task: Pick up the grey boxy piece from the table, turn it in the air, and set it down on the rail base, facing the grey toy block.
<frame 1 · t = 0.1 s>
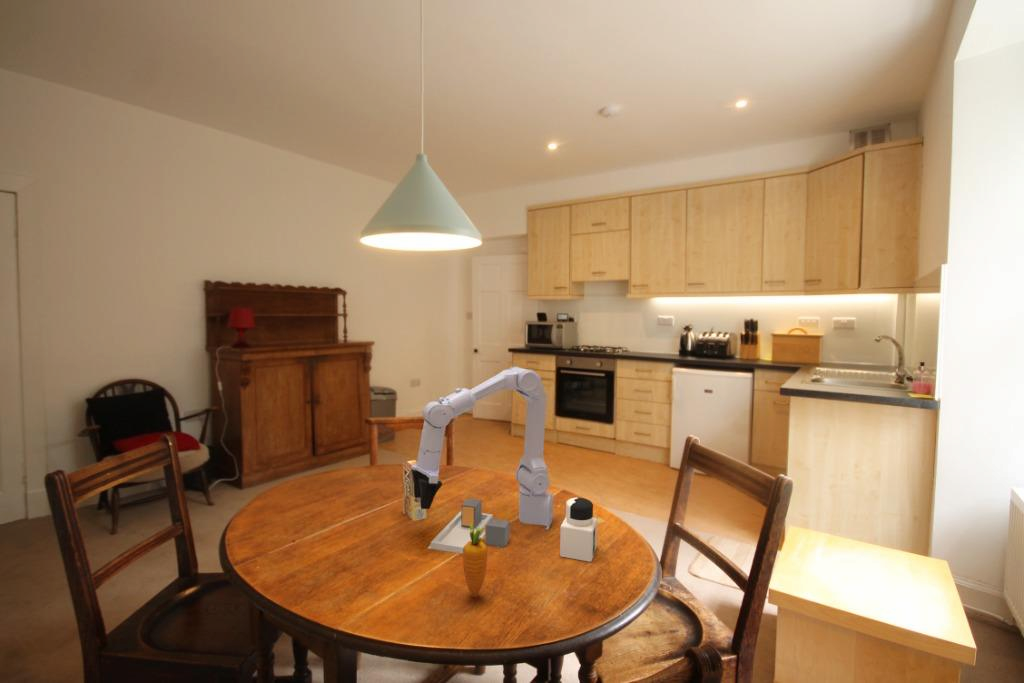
hand: (421, 502, 118), 11 cm above the table, tool pointing down, fingers open, 7 cm apart
grey toy block: (471, 523, 128), resting on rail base
candy box: (414, 518, 134), on the table
container: (578, 553, 115), on the table
grey boxy piece: (497, 546, 118), on the table
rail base: (463, 536, 122), on the table
carrot: (474, 598, 96), on the table
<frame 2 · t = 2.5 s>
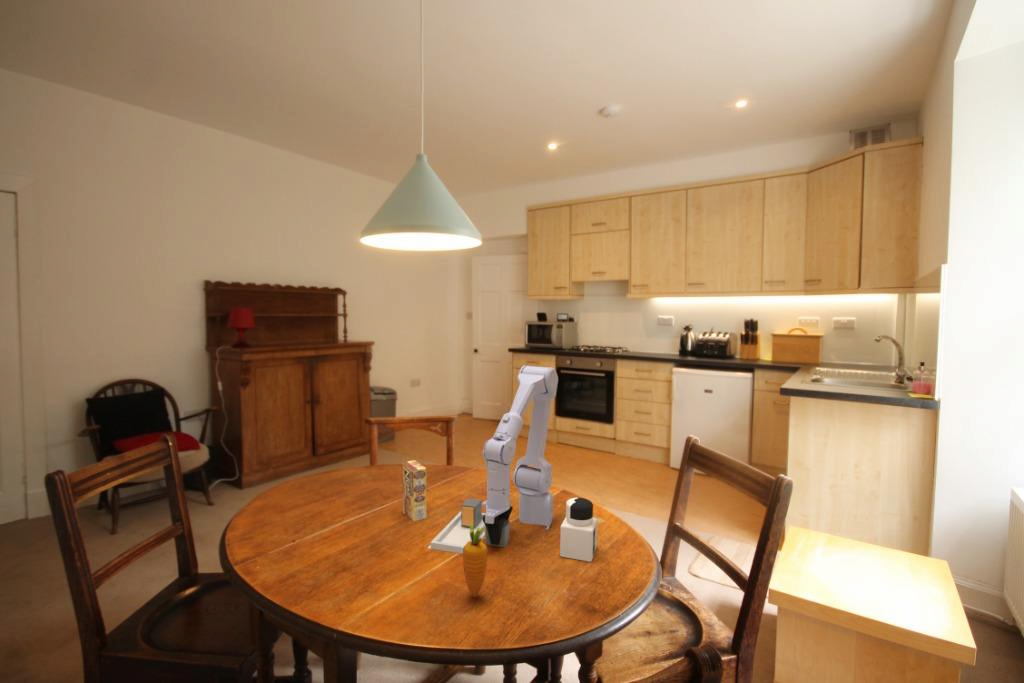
hand: (497, 539, 117), 2 cm above the table, tool pointing down, fingers closed on grey boxy piece, 4 cm apart
grey boxy piece: (497, 546, 118), on the table, touching gripper
everything else where it was.
when the fingers open (4 cm above the table, at t = 6.7 s): grey boxy piece stays where it is, resting on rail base.
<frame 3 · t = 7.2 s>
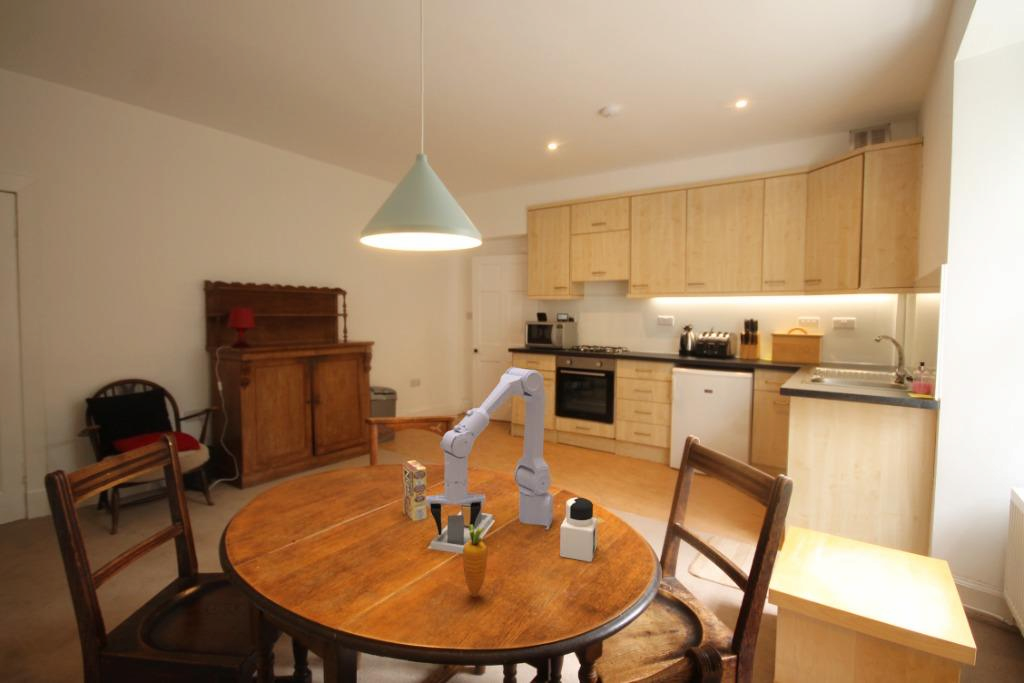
hand: (455, 532, 117), 4 cm above the table, tool pointing down, fingers open, 7 cm apart
grey boxy piece: (455, 542, 117), point 1 cm above the table, touching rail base
everything else where it was.
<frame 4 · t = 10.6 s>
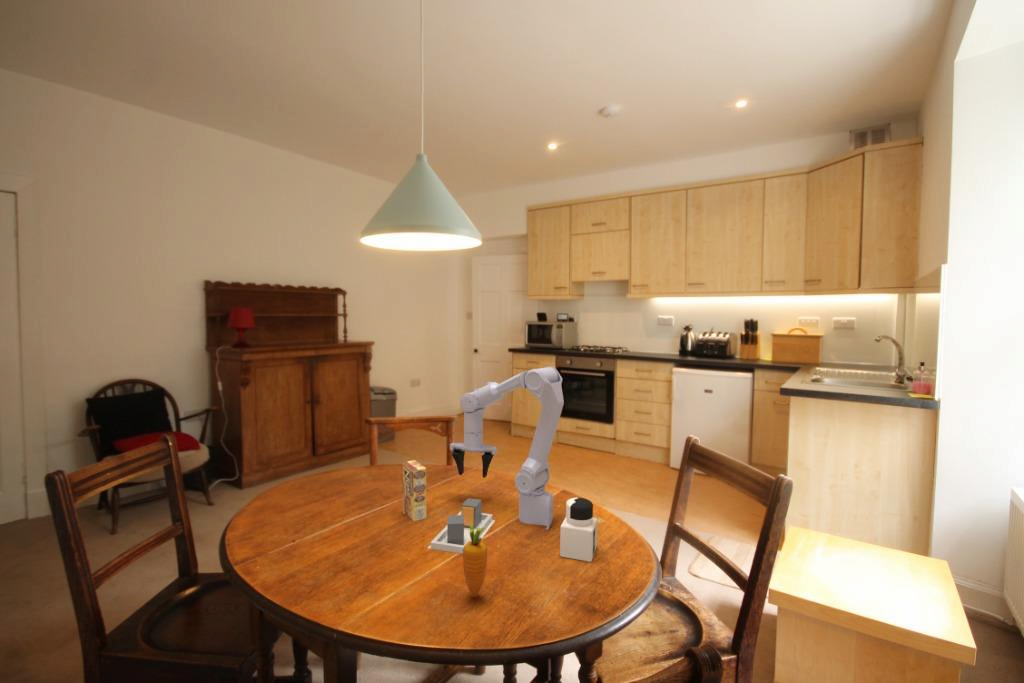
hand: (472, 475, 142), 9 cm above the table, tool pointing down, fingers open, 7 cm apart
nothing on the table moved.
at the end: grey boxy piece 0.0 cm from the target spot, point 1.0 cm above the table; grey boxy piece tilted 0°; the gripper is holding nothing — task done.
